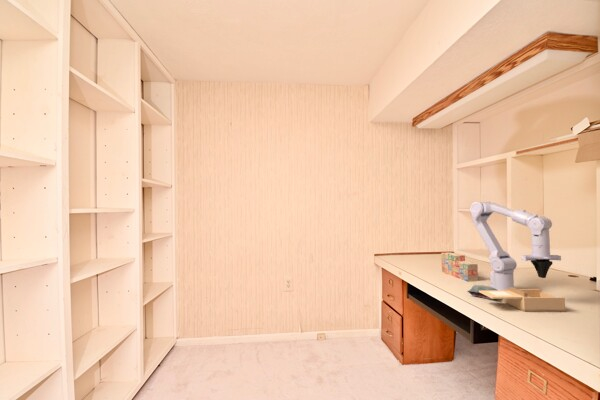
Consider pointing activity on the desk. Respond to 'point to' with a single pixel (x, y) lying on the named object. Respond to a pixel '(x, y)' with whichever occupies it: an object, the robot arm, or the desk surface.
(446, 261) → the stack of blocks
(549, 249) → the robot arm
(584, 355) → the desk surface
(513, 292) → the lid
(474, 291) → the packaged food
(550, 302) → the light brown rectangular box
